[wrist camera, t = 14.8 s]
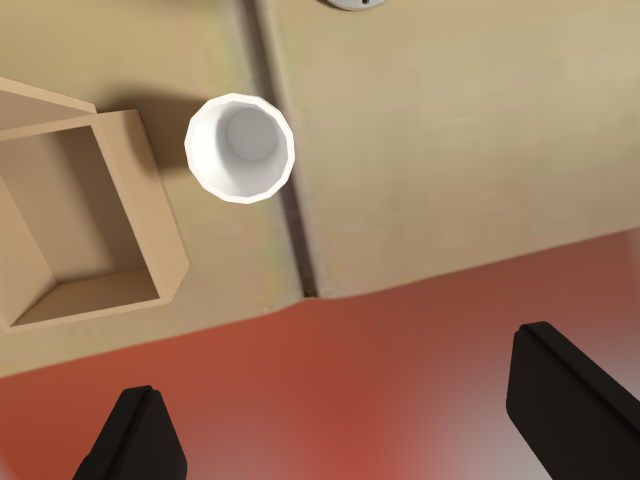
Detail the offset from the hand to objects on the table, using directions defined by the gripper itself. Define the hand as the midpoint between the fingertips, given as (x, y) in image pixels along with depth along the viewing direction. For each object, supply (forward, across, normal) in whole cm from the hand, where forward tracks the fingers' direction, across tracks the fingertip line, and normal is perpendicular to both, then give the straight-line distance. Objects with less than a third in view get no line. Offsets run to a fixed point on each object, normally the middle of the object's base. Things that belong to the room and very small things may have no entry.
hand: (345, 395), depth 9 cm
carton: (+38, +25, +3) cm, 46 cm away
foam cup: (+38, +5, -3) cm, 39 cm away
